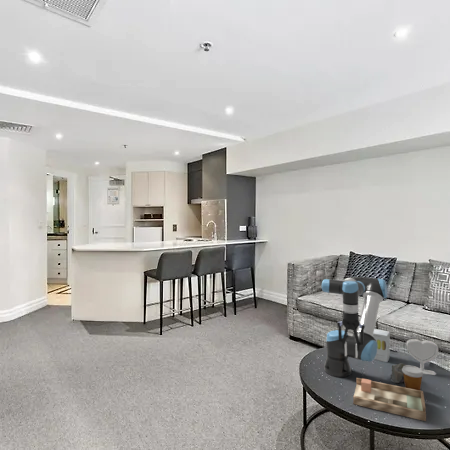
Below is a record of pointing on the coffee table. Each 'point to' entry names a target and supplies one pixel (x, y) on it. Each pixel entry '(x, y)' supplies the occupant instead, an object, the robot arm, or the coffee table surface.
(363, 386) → the terracotta block
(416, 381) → the disposable coffee cup
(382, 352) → the supplement box
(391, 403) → the box
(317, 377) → the coffee table surface
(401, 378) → the mineral rock
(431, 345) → the heart sculpture
